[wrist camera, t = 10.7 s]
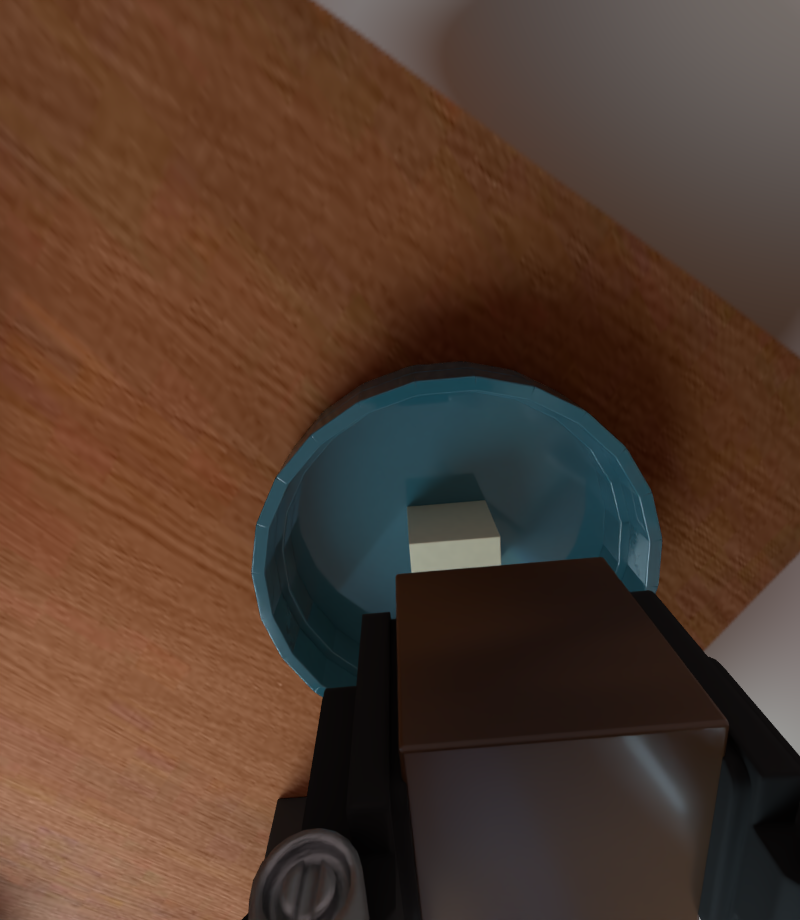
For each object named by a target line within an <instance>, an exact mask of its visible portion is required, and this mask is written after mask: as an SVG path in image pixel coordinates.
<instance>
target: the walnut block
mask: <svg viewBox="0 0 800 920" xmlns="http://www.w3.org/2000/svg"><path fill="white" fill-rule="evenodd" d="M395 581H396V639H397V697H398V750H399V759H400V768H401V777H402V780H403V782H406V785H407V794H408V803H409V812H410V821H411V830H412V839H413V848H414V857H415V866H416V875H417V884H418V893H419V902H420V911H421V920H699V915H698V912H699V906H700V899H701V893H702V886H703V880H704V874H705V867H706V861H707V854H708V848H709V842H710V835H711V829H712V822H713V816H714V810H715V803H716V797H717V790H718V784H719V778H720V771H721V765H722V758H723V757H724V756H725V751H726V745H727V738H728V732H729V723H728V721H727V719H726V718H725V716H724V715H723V714H722V712H721V711H720V710H719V708H718V707H717V706H716V704H715V703H714V702H713V701H712V699H711V698H710V697H709V695H708V694H707V693H706V691H705V690H704V689H703V687H702V686H701V685H700V684H699V682H698V681H697V680H696V678H695V677H694V676H693V674H692V673H691V672H690V670H689V669H688V668H687V667H686V665H685V664H684V663H683V661H682V660H681V659H680V657H679V656H678V655H677V653H676V652H675V651H674V650H673V648H672V647H671V646H670V644H669V643H668V642H667V640H666V639H665V638H664V636H663V635H662V634H661V633H660V631H659V630H658V629H657V627H656V626H655V625H654V623H653V622H652V621H651V619H650V618H649V617H648V616H647V614H646V613H645V612H644V610H643V609H642V608H641V606H640V605H639V604H638V602H637V601H636V600H635V599H634V597H633V596H632V595H631V593H630V592H629V591H628V589H627V588H626V587H625V585H624V584H623V583H622V581H621V580H620V579H619V578H618V576H617V575H616V574H615V572H614V571H613V570H612V568H611V567H610V566H609V564H608V563H607V562H606V561H605V559H604V558H603V557H591V558H580V559H568V560H556V561H544V562H532V563H520V564H508V565H497V566H485V567H473V568H461V569H449V570H437V571H426V572H414V573H402V574H397V575H396V578H395Z"/></svg>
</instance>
